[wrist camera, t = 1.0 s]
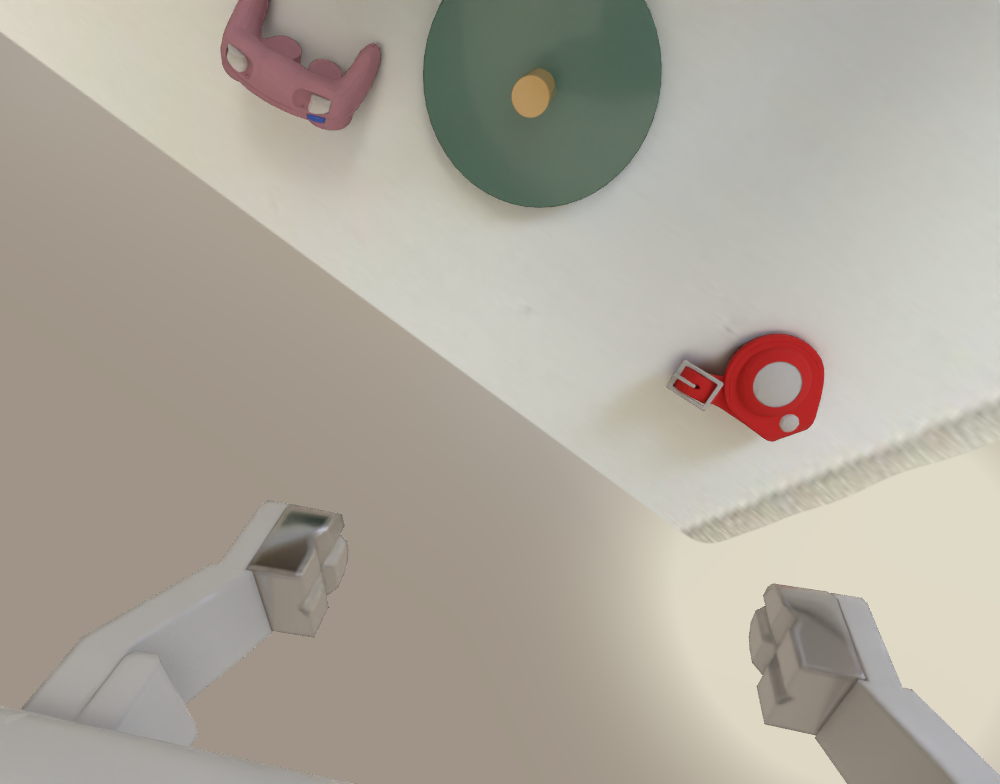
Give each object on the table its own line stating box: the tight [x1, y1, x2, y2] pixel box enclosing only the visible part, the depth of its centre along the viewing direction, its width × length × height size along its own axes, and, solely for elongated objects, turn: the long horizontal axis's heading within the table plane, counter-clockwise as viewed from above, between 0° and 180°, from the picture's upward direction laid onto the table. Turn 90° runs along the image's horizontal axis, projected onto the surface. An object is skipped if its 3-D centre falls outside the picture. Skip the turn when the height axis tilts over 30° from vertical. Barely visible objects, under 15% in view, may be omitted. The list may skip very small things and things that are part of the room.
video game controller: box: [221, 0, 381, 130], centre depth 40 cm, size 10×5×7 cm, turn 64°
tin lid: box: [423, 0, 662, 208], centre depth 38 cm, size 16×16×5 cm
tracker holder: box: [667, 334, 824, 442], centre depth 49 cm, size 12×4×10 cm
